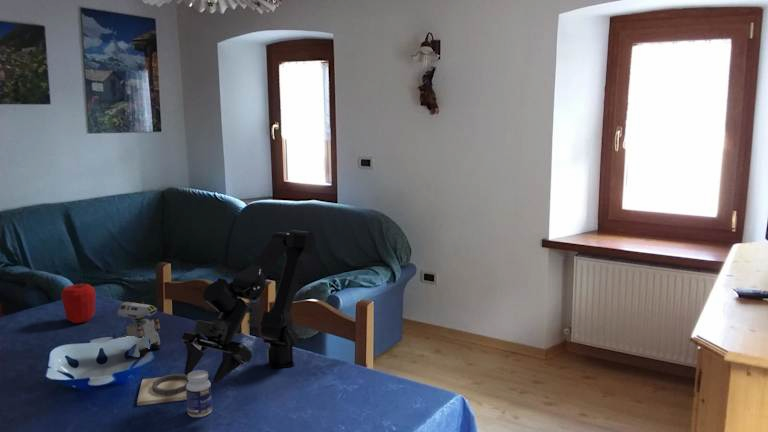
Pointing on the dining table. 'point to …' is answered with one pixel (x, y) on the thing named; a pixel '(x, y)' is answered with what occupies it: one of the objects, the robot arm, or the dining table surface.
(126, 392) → the dining table surface
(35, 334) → the dining table surface
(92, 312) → the apple
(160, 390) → the collar board
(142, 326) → the figurine
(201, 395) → the pill bottle
